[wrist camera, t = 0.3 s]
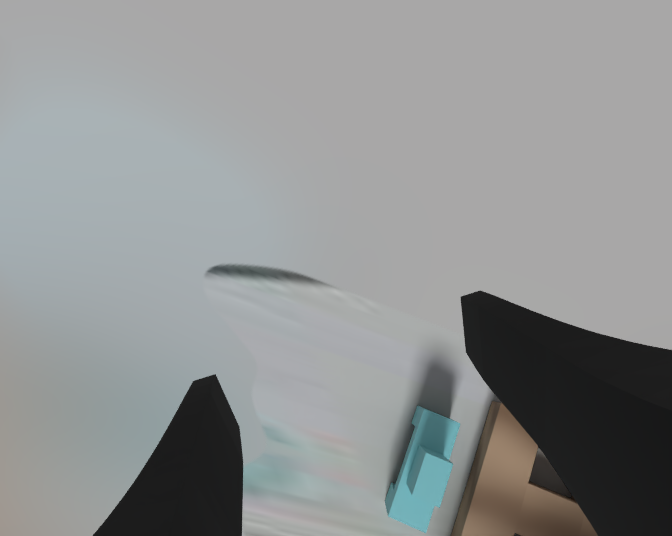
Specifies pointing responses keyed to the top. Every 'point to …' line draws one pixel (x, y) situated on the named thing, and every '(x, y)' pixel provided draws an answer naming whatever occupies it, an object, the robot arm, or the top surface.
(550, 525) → the wooden block holder
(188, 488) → the robot arm
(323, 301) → the top surface
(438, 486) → the clip
